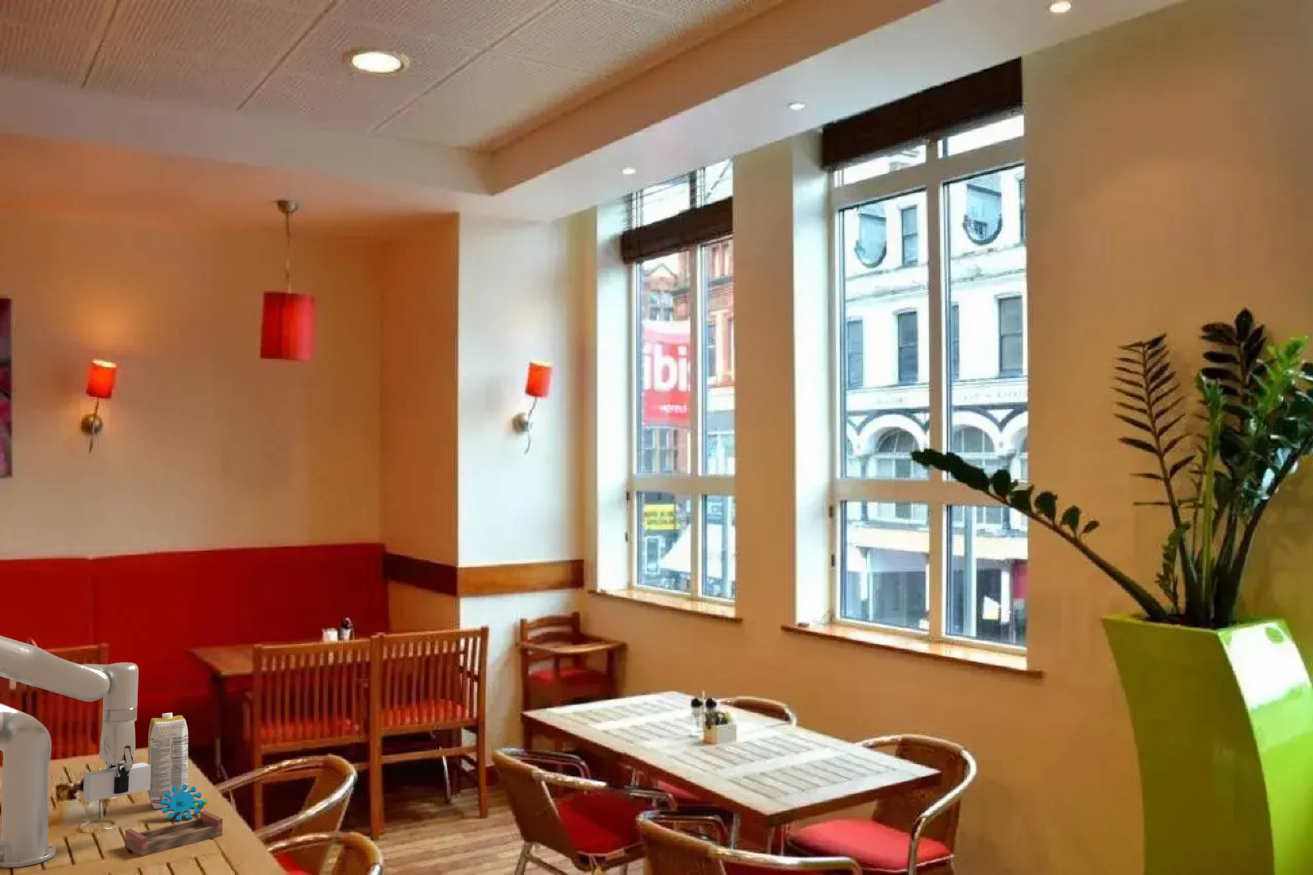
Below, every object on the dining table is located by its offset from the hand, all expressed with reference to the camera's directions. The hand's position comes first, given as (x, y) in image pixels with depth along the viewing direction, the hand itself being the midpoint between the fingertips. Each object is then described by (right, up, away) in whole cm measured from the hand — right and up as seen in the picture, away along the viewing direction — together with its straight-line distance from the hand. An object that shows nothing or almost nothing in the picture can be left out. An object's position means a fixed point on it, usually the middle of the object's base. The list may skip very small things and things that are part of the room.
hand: (117, 790), depth 267 cm
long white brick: (0, -1, 0) cm, 1 cm away
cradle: (+14, -12, -1) cm, 19 cm away
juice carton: (0, -13, +28) cm, 31 cm away
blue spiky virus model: (+9, -13, +17) cm, 23 cm away
